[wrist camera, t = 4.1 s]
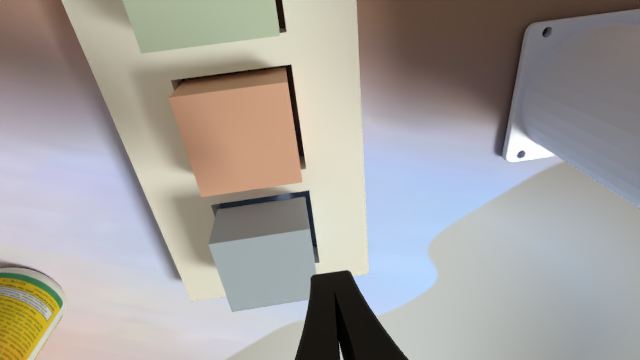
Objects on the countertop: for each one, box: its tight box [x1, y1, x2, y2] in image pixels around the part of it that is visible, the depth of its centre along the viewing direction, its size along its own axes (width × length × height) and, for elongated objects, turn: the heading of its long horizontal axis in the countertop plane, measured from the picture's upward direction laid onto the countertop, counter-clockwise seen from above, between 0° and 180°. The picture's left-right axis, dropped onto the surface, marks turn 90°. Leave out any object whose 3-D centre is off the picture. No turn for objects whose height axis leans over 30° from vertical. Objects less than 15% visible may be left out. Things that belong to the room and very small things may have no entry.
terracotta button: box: [169, 67, 302, 197], centre depth 17 cm, size 5×5×3 cm
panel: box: [61, 0, 369, 302], centre depth 18 cm, size 12×23×2 cm, turn 6°
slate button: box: [208, 197, 316, 312], centre depth 20 cm, size 5×5×3 cm
